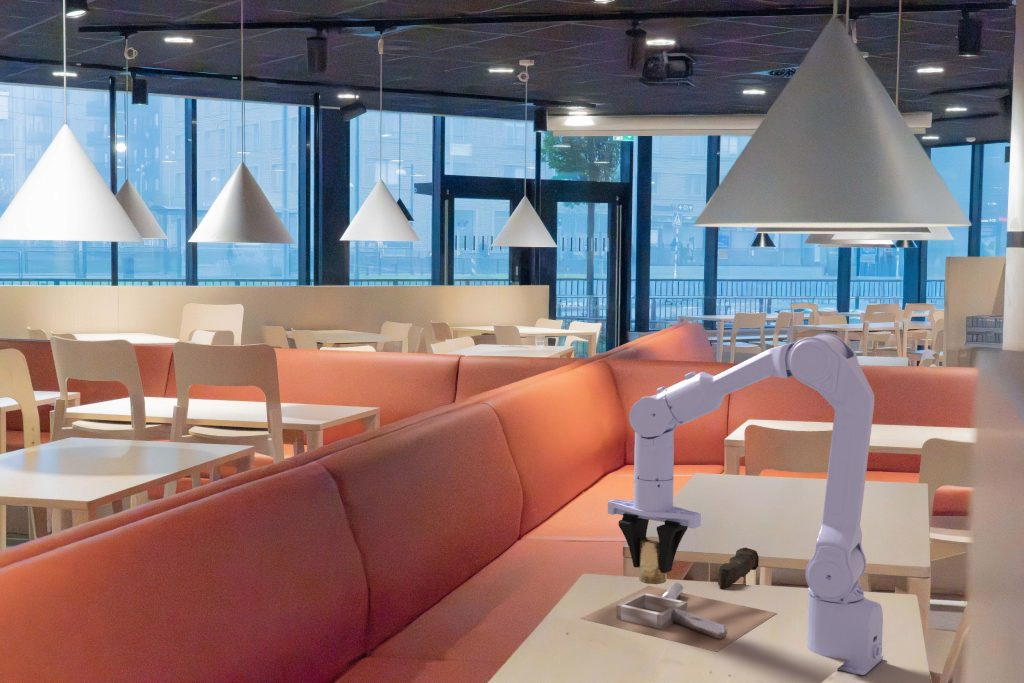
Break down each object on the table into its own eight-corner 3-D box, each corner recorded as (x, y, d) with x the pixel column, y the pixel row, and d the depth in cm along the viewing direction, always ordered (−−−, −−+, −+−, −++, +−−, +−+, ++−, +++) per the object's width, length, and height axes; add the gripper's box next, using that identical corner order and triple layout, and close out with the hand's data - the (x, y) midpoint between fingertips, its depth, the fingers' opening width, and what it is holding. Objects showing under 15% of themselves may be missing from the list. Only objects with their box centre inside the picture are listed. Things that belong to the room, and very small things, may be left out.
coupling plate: (777, 622, 160) (777, 599, 160) (716, 662, 144) (717, 637, 144) (648, 594, 173) (648, 573, 173) (580, 628, 157) (580, 604, 157)
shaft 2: (727, 637, 149) (727, 623, 149) (717, 641, 148) (717, 626, 148) (679, 620, 156) (679, 607, 156) (669, 623, 155) (670, 610, 155)
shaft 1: (670, 594, 169) (670, 581, 168) (683, 595, 168) (683, 583, 168) (657, 609, 161) (658, 596, 161) (670, 611, 160) (671, 598, 160)
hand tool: (736, 567, 190) (737, 542, 189) (759, 570, 188) (759, 544, 187) (703, 597, 173) (704, 569, 173) (728, 601, 171) (728, 572, 171)
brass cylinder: (671, 579, 158) (672, 539, 157) (656, 585, 155) (657, 545, 154) (648, 574, 160) (649, 535, 160) (633, 580, 157) (634, 540, 157)
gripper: (711, 479, 155) (709, 571, 156) (625, 467, 164) (624, 554, 165) (688, 487, 149) (686, 582, 151) (600, 474, 158) (599, 564, 159)
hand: (652, 568), depth 157 cm, fingers closed on brass cylinder, 4 cm apart
